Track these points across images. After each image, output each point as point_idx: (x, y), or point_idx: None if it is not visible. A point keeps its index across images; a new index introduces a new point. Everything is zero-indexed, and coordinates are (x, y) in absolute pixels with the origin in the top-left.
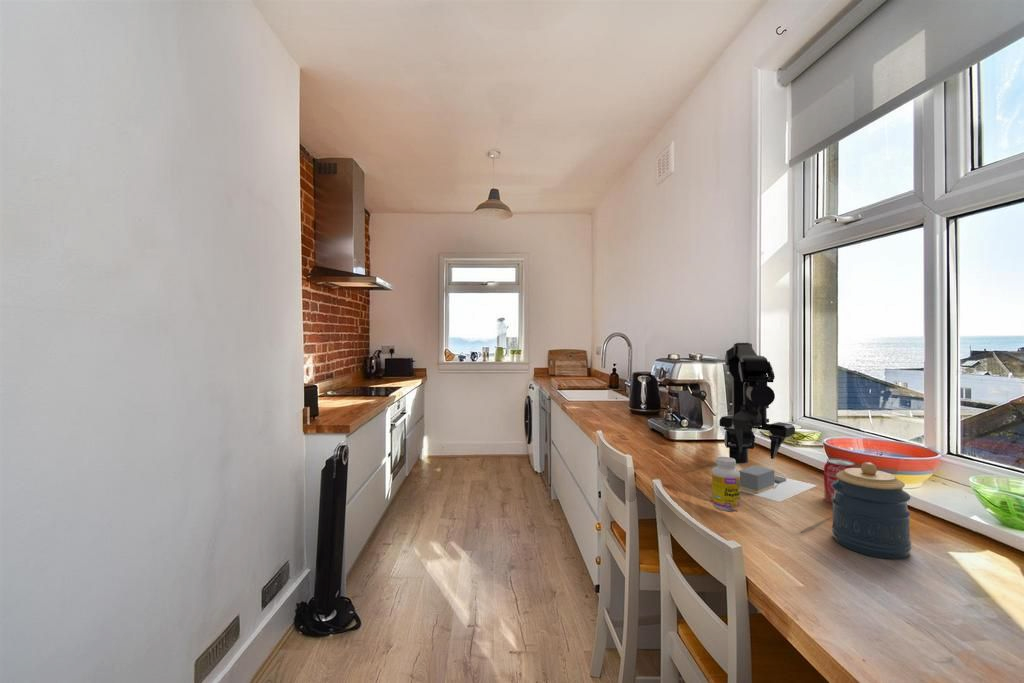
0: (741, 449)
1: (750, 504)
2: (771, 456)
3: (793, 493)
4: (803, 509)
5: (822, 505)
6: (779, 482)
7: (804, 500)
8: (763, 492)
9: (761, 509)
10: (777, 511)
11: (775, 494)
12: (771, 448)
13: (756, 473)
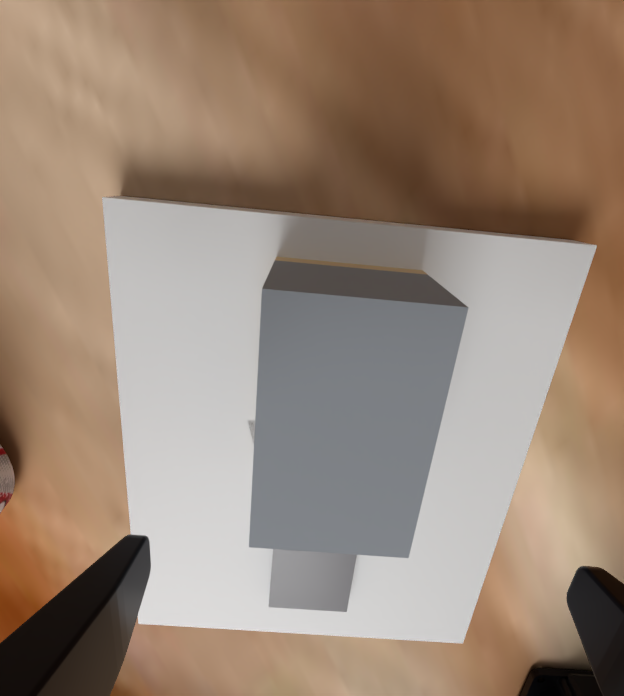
0: (582, 628)
1: (268, 99)
2: (118, 555)
3: (141, 429)
4: (28, 281)
5: (16, 421)
6: None
7: (108, 430)
8: None
9: (171, 53)
10: (89, 107)
11: (196, 334)
12: (19, 684)
13: (303, 356)
